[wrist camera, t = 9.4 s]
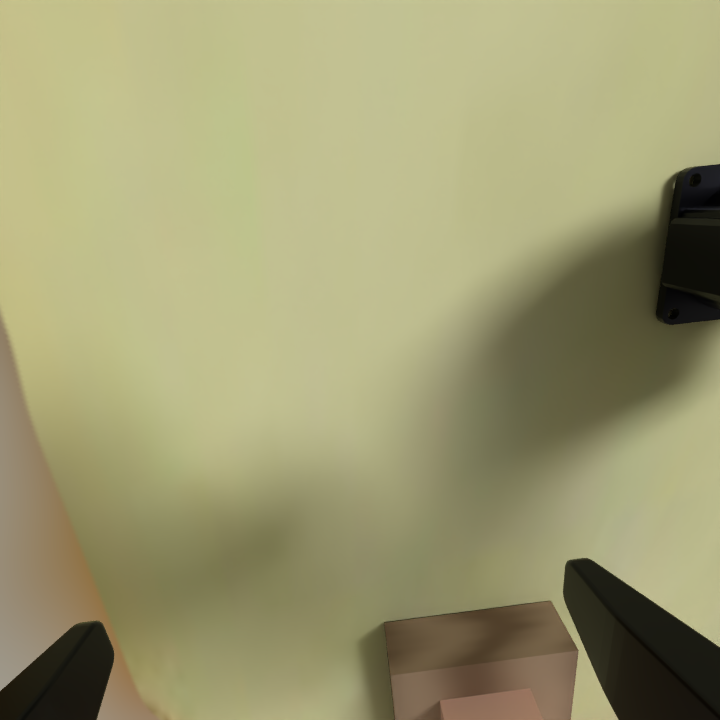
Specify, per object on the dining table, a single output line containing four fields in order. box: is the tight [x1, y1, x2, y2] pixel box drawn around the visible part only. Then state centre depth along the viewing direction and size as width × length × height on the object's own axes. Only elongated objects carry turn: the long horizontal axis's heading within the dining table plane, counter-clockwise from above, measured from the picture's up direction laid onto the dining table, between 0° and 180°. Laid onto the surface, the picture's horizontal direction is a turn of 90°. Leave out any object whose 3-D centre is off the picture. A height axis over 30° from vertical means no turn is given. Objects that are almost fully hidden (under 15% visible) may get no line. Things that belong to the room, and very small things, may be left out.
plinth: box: [384, 601, 578, 720], centre depth 25 cm, size 10×10×3 cm
